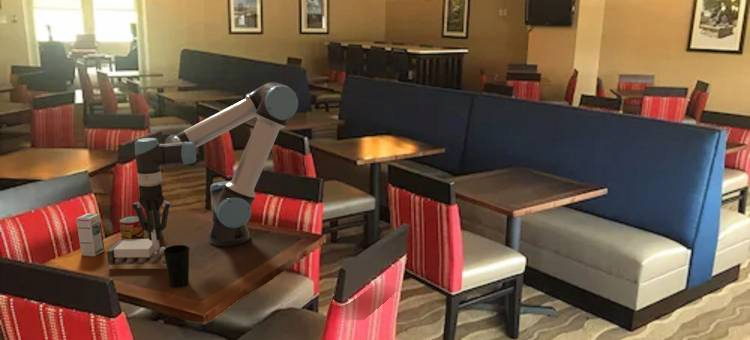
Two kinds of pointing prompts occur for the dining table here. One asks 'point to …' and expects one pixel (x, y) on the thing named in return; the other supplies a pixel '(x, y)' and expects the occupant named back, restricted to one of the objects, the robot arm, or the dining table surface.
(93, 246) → the syrup box
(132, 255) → the slab
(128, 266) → the roller bed
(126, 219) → the canned food
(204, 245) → the dining table surface
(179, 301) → the dining table surface
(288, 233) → the dining table surface
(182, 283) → the cup
